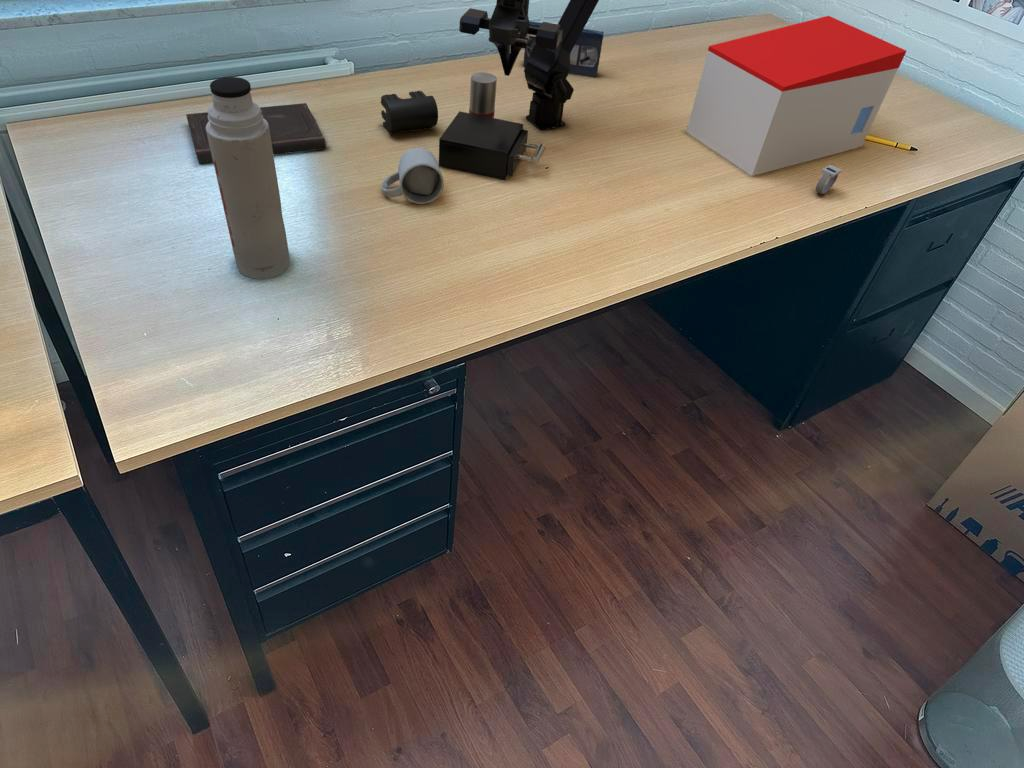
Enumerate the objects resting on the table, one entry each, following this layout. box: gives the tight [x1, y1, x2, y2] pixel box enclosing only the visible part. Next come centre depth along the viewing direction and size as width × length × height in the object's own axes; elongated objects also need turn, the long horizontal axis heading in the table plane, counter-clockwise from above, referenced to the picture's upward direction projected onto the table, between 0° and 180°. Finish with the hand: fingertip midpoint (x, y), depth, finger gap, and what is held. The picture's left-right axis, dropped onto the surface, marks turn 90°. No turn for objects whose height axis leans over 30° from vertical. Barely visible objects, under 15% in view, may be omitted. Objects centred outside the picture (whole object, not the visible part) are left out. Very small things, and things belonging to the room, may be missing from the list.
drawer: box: [506, 128, 546, 177], centre depth 138 cm, size 16×12×4 cm
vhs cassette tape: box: [522, 20, 605, 78], centre depth 172 cm, size 18×3×10 cm, turn 80°
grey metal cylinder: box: [468, 71, 498, 118], centre depth 147 cm, size 5×5×10 cm
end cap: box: [380, 90, 439, 135], centre depth 144 cm, size 10×7×7 cm
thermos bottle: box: [206, 76, 291, 280], centre depth 101 cm, size 8×8×28 cm
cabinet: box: [438, 111, 524, 181], centre depth 138 cm, size 13×13×6 cm
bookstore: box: [685, 15, 907, 177], centre depth 151 cm, size 21×35×21 cm, turn 121°
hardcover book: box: [185, 102, 327, 164], centre depth 137 cm, size 16×23×2 cm
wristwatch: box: [815, 164, 843, 195], centre depth 141 cm, size 6×3×5 cm, turn 135°
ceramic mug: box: [380, 147, 445, 205], centre depth 126 cm, size 11×8×8 cm
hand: (507, 74), depth 139 cm, fingers closed
